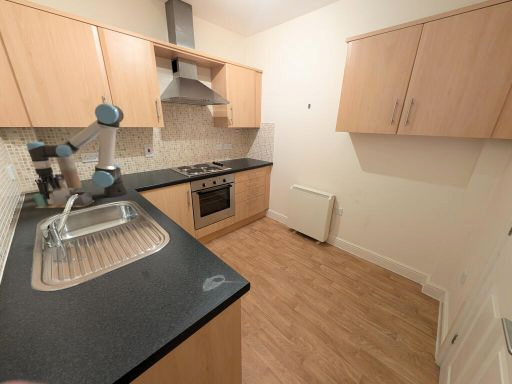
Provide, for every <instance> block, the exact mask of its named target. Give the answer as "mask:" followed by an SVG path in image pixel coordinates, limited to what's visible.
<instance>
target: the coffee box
mask: <svg viewBox="0 0 512 384" xmlns="http://www.w3.org/2000/svg"><path fill="white" fill-rule="evenodd" d="M54 175H58V180H59V183H60V186H61V188H67V185H66V181H65V178H64V175H63V174H60V173H59V174H58V173H56V174H54ZM44 183H46V182H44ZM48 187H49V188H52V186H51V185H50V183H49V184H48Z"/></svg>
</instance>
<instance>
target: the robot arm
mask: <svg viewBox="0 0 512 384" xmlns="http://www.w3.org/2000/svg"><path fill="white" fill-rule="evenodd" d="M94 114H95V117H96V119H95V121H93V122H92V123H91V124H89V125H88V126H87V127H85V128H84V129H82V130H81V131H80V132H77V134H75V135H74V136H72V137H71V138H70V139H69V140H67V141H66V142H64V143H61V144H52V145H48V144H47V145H46V144H45V143H44V142H42V141H35V142H34V141H32V142H31V141H29V142H27V143H26V148H27V151H28V154H29V156H30V159H31V162H32V165H33V168H35V169H34V171H35V174H36V175H38V178H37V179H34V182H35V183H36V186H37V189H38V191H39V192H38V193H40V194H41V195H45V198H46V199H47V201H48V204H53V203H54V202H53V199H52V196H51V194H49V187H48V184H49V183H50V185H51V186H52V188H61V186H60V183H59V180H58V175H55V174H53V173H54V170H53V167H52V163H51V161H50V159H51V158H56V157H70V156H71V155H74V154H76V153H78V152H79V150H80V149H82V148H83V147H85V146H86V145H87V144H88V143H90V142H91V141H93V140H94V139H95V138H97V137H98V136H99V139H98V141H99V142H98V158H97V160H98V161H97V164H95V165H94V172H93V174H92V175H91V180H92V182H93V183H94V184H95V186H97V187H99V188H104V189H103V195H104V197H107V198H108V197H109V198H111V197H114V198H115V197H119V196H123V195H126V194H128V193H129V191H128V188H127V187H126V185H125V183H124V180H123V176H122V170H121V166H120V165H119V164H118V163H115V151H116V141H117V140H116V138H117V130H120V123H122V122H123V120H124V118H125V117H124V116H125V114H124V113H123V110H122V109H121V108H120V107H119V106H116V105H113V104H111V103H101V104H98V105H97V106H96V107H95V109H94ZM45 182H46V183H45Z"/></svg>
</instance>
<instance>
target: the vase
mask: <svg viewBox="0 0 512 384" xmlns="http://www.w3.org/2000/svg"><path fill="white" fill-rule="evenodd" d="M55 158H56V161H57V165H58V167H59V171H60V173H61V174H63V175H64V178H65V181H66V185H67V188H75V190H79V189H81V188H82V187H83V186H82V183H81V180H80V175H79V172H78V169H77V166H76V162H75V159H74V154H72V155H71V156H70V157H55Z"/></svg>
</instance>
